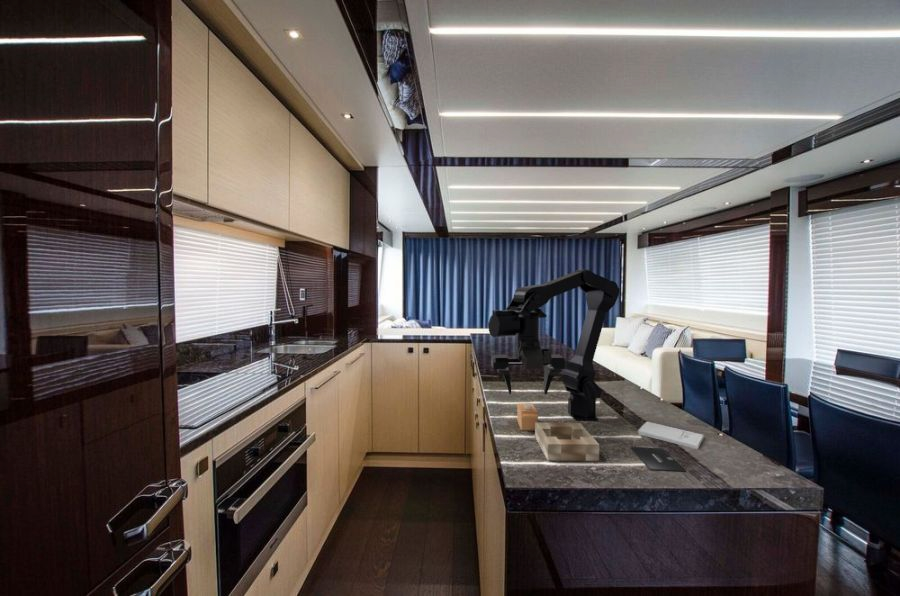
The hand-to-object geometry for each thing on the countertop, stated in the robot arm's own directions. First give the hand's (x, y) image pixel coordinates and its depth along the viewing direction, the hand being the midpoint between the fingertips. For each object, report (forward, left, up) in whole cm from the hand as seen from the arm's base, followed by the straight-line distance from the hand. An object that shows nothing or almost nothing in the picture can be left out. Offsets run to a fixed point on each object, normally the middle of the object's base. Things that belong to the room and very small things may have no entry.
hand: (527, 394), depth 95 cm
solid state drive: (-24, +18, -9) cm, 31 cm away
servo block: (0, 0, -9) cm, 9 cm away
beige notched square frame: (-6, +13, -8) cm, 17 cm away
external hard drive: (-34, +6, -9) cm, 36 cm away
